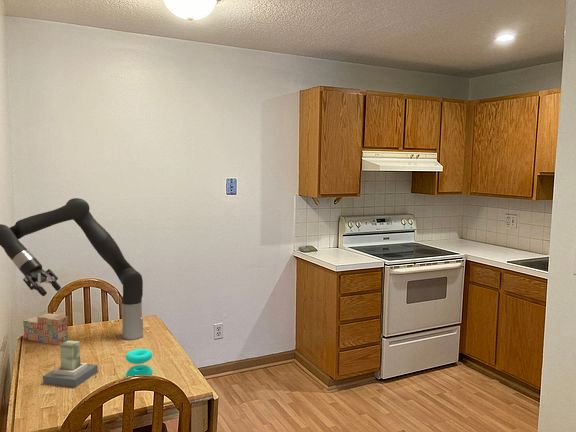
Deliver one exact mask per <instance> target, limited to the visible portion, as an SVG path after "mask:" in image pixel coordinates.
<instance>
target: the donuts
mask: <svg viewBox="0 0 576 432" xmlns="http://www.w3.org/2000/svg"><path fill="white" fill-rule="evenodd" d="M152 358H153V352H152V351H151V350H149V349H147V348H136V349H133V350H130V351H128V352H127V353H126V355H125V360H126V361H127V362H128V363H129V364H133V365H134V366H132V367H130V368H128V370H127V371H126V378H127V377H128V376H135V375H151V376H152V375H153V373H154V371H153V369H152V368H151V366H149V365H145V364H144V363H147V362H149V361H150V360H151V359H152Z"/></svg>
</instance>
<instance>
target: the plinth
mask: <svg viewBox="0 0 576 432" xmlns="http://www.w3.org/2000/svg"><path fill="white" fill-rule="evenodd" d="M97 373H99V369H98V364H93V363H92V364H91V363H88V362H87V363H86V362H80V367H78V368H77V369H75V370H73V371H69V370H61V365H59V366H57V367H55V368H53V369H52V370H50V371H49V372H46V374H44V375H42V384H43V385H44V384H45V385H51V386H52V385H53V386H61V387H69V388H77V387H78V386H81V384H82V383H84V382H86V381H87V380H89V379H90V378H91V377H93V376H94V375H95V374H97Z"/></svg>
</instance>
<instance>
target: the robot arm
mask: <svg viewBox="0 0 576 432" xmlns="http://www.w3.org/2000/svg"><path fill="white" fill-rule="evenodd" d="M90 208H91V207H90V204H89V203H88V202H87V201H86V200H85V199H83V198H79V197H78V198H77V197H76V198H75V197H74V198H70V199H69V200H67V202H66V203H65V204H64V205H63V206H61V207H58V208H56V209H53V210H49V211H45V212H41V213H37V214H34V215H30V216H27V217H24V218H23V219H19V220H17V221H16V222H15V223H14V225H12V226H10V227H9V226H7V225H6V224H0V247H2V249H3V250H4V252H5V254H6V256H7V257H8V258H9V259H10V260H11V261H12V262H13V264H14V265H15V267H16V268H17V269H18V270H19V271H20V273H22V274H23V276H24V278H23V279H22V280H23V282H24V283H25V284H26V286H27V287H28V289H29V290H31V291H34V290H35V291H37V292H38V293H39V294H40V295H41V296H42V297H44V296H46V295H47V293H48V292H47V291H46V289H45V288H44V287H43V286H42V285H41V284H42V283H45V284H49V285H51V286H52V288H53V289H54V290H55V291H56V292H59V291H60V290H61V289H62V287H61V285H60V284H59V283H58V282H57V281H58V280H59V277H58V276H57V275H56V274H55V273H54V272H53V270H51V269H50V268H47V270H44V269H43V265H42V263H41V262H40V261H39V260H38V259H37V258H36V257H35V255H34V254H33V253H31V252H30V250H28V248H26V247H25V246H24V245H23V243H21V241H20V239H22V238H23V237H25V236H28V235H32V234H34V233H36V232H40V231H41V230H44V229H46V228H49V227H52V226H54V225H57V224H60V223H64V222H68V221H69V222H70V221H74V222H75V224H77V225H78V226H79V228H80V229H81V230H82V232H83V233H84V235H85V237H86V239H87V240H88V241H89V242H90V244H91V246H92V247H93V249H94V250H95V251H96V252H97V253H98V255H99V256H100V257H101V258H102V260H104V261H105V262H106V263H107V264H108V265H109V266H110V267H111V269H112V270H113V272H114V273H115V275H116V276H117V278H118V280H119V281H120V283H121V285H122V297H121V324H122V326H121V328H122V329H121V330H122V334H121V335H122V339H124V340H136V339H140V338H144V318H143V310H142V309H143V308H142V307H143V305H142V304H143V303H142V301H143V300H142V299H143V295H144V294H143V293H144V291H143V289H144V285H143V283H144V282H143V281H144V280H143V276H142V274H141V273H140V272H139V271H137V270H136V269H135V268H134V267H133V266H132V265H131V264H130V263H129V261H127V259H126V258H125V256H124V255H123V252H122V250H121V249H120V247H119V245H118V243H117V242H116V241H115V239H114V238H113V237H112V236H111V234H110V233H109V232H108V231H107V230H106V229H105V227H103V226H102V225H101V224H100V222H98V221H97V220H96V219H95V218H94V216H93V215H92V213H91V212H90V210H91V209H90Z"/></svg>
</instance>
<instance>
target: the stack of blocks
mask: <svg viewBox="0 0 576 432" xmlns="http://www.w3.org/2000/svg"><path fill="white" fill-rule="evenodd" d="M68 325H69V324H68V316H66V315H62V314H55V313H49V312H48V313H44V314H42V315H39V316H37V317H35V316H33V317H31V318H26V319H25V320H23V336H24V337H23V338H24V339H25V340H29V341H33V342H38V343H46V344H50V345H54V346H55V345H56V346H60V345H61V344H63V343H64V342H66V341H68V340H69V334H68V333H69V332H68V331H69V330H68Z"/></svg>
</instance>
